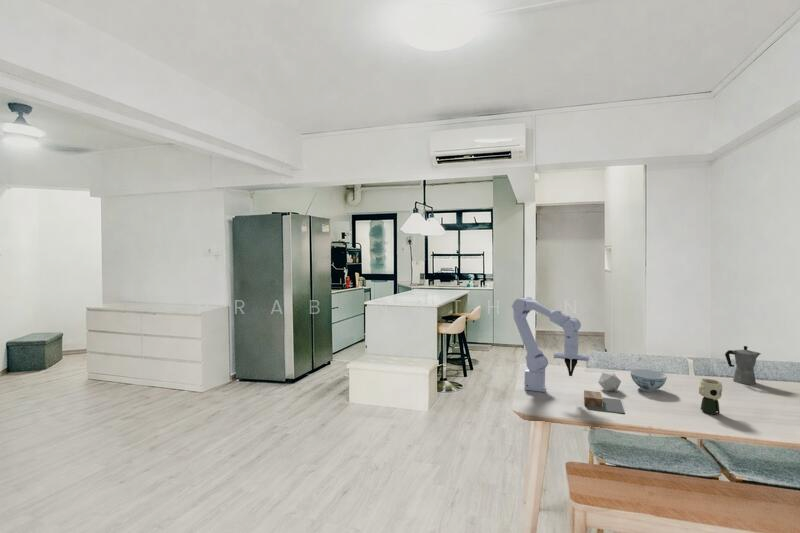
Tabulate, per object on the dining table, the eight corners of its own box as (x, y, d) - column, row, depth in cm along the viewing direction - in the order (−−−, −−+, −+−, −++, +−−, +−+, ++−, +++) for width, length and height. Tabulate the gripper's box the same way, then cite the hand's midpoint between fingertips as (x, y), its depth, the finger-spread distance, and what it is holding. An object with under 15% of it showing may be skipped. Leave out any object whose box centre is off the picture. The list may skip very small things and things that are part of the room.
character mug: (706, 417, 170) (707, 384, 169) (691, 410, 177) (692, 379, 176) (729, 414, 172) (730, 383, 171) (713, 408, 179) (714, 377, 178)
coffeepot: (753, 379, 215) (754, 344, 214) (765, 385, 206) (767, 348, 205) (719, 378, 218) (720, 343, 217) (729, 384, 209) (731, 347, 208)
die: (618, 396, 196) (626, 376, 198) (600, 385, 197) (609, 366, 200) (610, 396, 204) (617, 378, 206) (592, 386, 205) (600, 368, 208)
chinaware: (646, 396, 193) (646, 379, 193) (622, 385, 208) (623, 370, 207) (674, 393, 196) (675, 377, 196) (649, 383, 211) (649, 368, 210)
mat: (587, 409, 179) (587, 408, 179) (586, 396, 194) (586, 395, 194) (624, 413, 174) (624, 412, 174) (620, 400, 189) (620, 399, 189)
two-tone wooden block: (584, 397, 182) (602, 399, 180) (584, 390, 191) (601, 392, 188) (584, 405, 183) (602, 407, 180) (584, 397, 191) (601, 399, 188)
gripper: (553, 346, 190) (553, 376, 191) (589, 349, 184) (588, 379, 185) (554, 342, 196) (553, 371, 197) (588, 345, 191) (588, 375, 192)
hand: (570, 375), depth 192 cm, fingers closed
